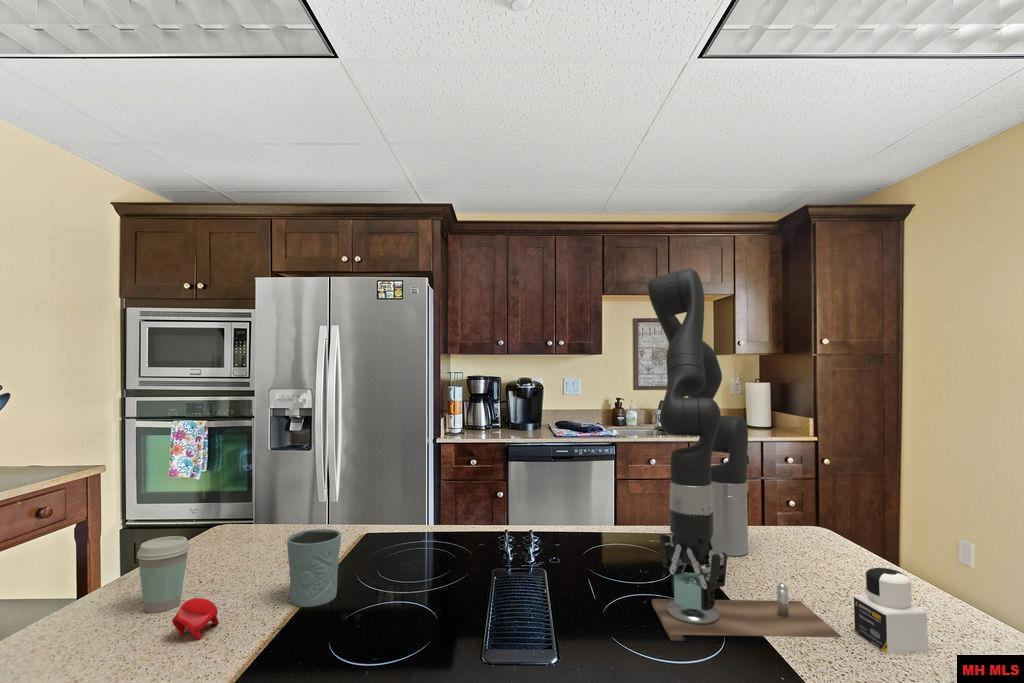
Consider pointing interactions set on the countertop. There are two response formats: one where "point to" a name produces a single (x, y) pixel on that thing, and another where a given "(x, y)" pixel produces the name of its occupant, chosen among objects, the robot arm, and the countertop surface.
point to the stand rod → (782, 600)
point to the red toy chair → (195, 616)
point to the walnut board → (749, 620)
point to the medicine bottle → (890, 613)
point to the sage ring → (687, 590)
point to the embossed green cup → (313, 566)
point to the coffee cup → (162, 572)
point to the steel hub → (692, 613)
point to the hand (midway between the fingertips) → (692, 601)
